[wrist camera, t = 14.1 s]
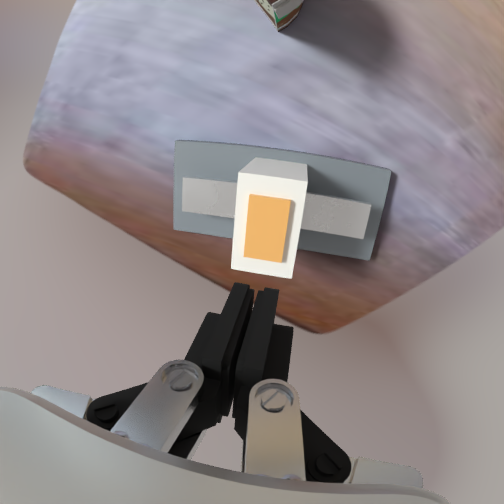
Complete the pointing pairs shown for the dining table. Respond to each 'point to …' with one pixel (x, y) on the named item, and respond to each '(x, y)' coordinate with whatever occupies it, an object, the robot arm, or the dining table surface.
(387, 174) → the mount plate
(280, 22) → the food container
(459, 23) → the dining table surface
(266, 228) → the block
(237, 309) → the robot arm
